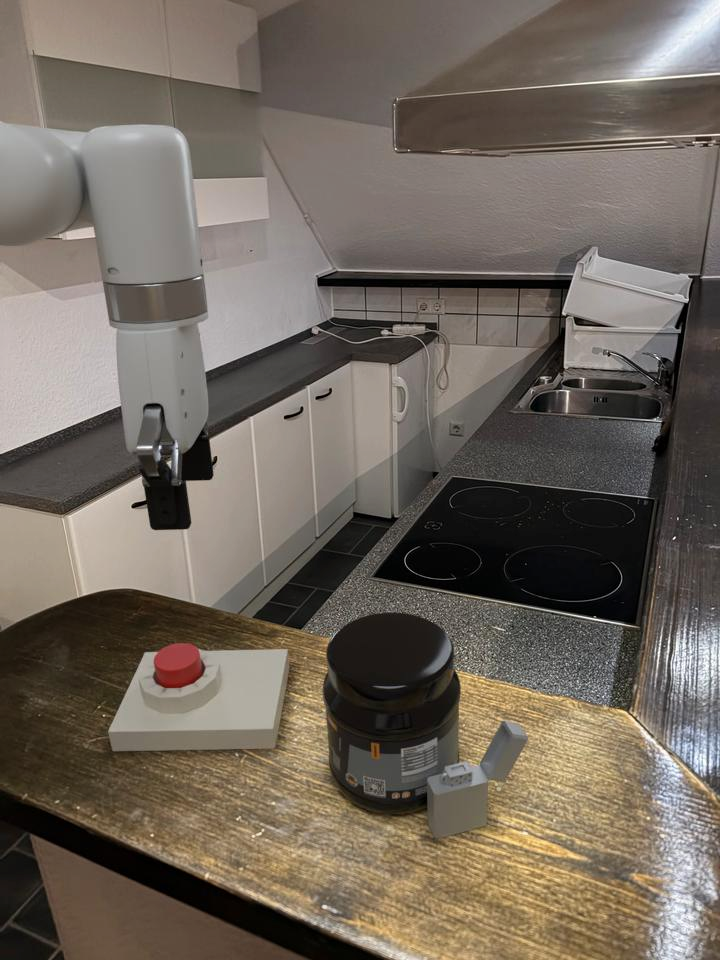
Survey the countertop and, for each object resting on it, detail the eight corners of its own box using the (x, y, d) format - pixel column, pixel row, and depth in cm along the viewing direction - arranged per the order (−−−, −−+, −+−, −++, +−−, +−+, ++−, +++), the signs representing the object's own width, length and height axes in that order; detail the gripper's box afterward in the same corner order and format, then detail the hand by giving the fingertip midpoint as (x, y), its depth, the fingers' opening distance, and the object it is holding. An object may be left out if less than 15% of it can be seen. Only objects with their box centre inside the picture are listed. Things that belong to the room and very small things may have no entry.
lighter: (435, 839, 55) (434, 754, 52) (426, 821, 57) (425, 737, 54) (524, 815, 57) (529, 731, 54) (514, 798, 58) (518, 715, 55)
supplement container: (371, 709, 68) (366, 594, 63) (480, 750, 63) (483, 629, 58) (303, 788, 60) (290, 664, 55) (422, 843, 55) (419, 711, 50)
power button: (151, 690, 67) (147, 671, 66) (163, 661, 70) (160, 643, 69) (196, 689, 66) (193, 670, 66) (206, 660, 70) (203, 642, 69)
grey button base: (112, 751, 65) (103, 714, 63) (148, 670, 75) (141, 636, 73) (275, 749, 64) (271, 711, 63) (289, 667, 74) (286, 633, 73)
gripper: (139, 284, 67) (165, 465, 74) (68, 327, 51) (110, 552, 58) (224, 281, 67) (242, 463, 73) (180, 324, 51) (209, 549, 58)
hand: (184, 502), depth 66 cm, fingers open, 9 cm apart
